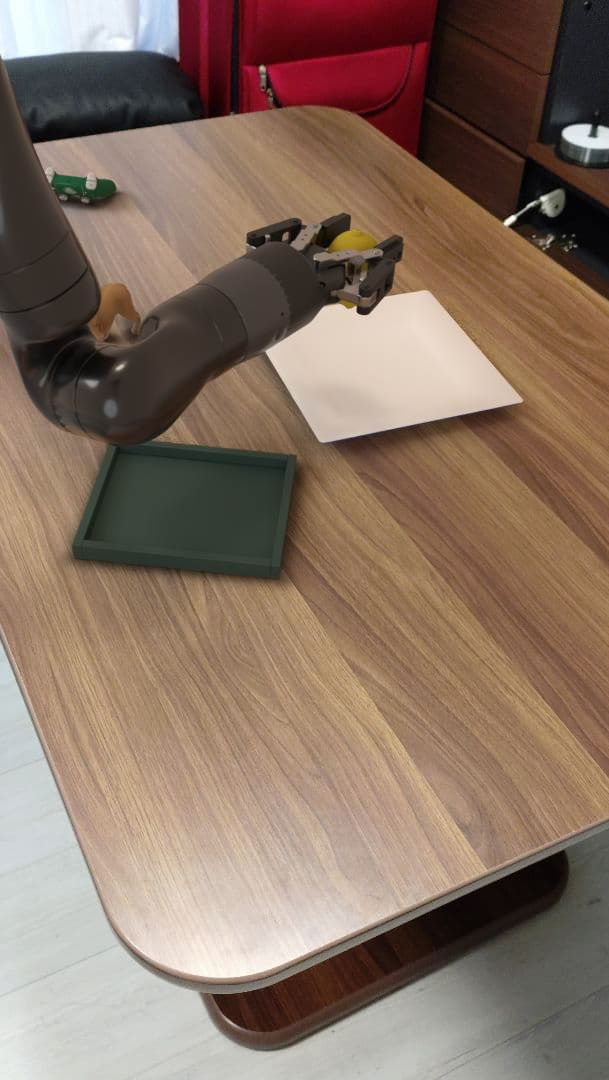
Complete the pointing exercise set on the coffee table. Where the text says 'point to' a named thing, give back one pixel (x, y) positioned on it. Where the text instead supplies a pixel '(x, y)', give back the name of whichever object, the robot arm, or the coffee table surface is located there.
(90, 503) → the tray
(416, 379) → the plate
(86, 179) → the green piece
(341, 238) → the lemon
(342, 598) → the coffee table surface
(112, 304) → the lion figurine
